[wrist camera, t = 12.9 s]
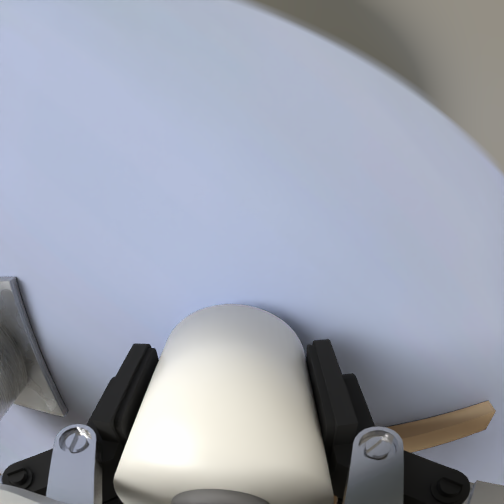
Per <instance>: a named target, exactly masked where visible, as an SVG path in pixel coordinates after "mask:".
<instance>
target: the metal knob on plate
mask: <svg viewBox="0 0 504 504" xmlns="http://www.w3.org/2000/svg"><path fill="white" fill-rule="evenodd" d="M13 403H14V404H17V405H21V406H24V407H27V408H31V409H34V410H38V411H42V412H45V413H49V414H53V415H57V416H62V417H65V415H66V414H67V412H68V410H67V408H66V407H65V405H64V403H63V401H62V399H61V397H60V394H59V392H58V390H57V388H56V386H55V384H54V382H53V380H52V377H51V375H50V373H49V371H48V368H47V366H46V364H45V361H44V359H43V356H42V354H41V352H40V349H39V346H38V344H37V341H36V339H35V336H34V333H33V331H32V328H31V325H30V322H29V319H28V316H27V313H26V310H25V307H24V304H23V301H22V298H21V294H20V291H19V288H18V284H17V281H16V277H0V420H1V419H2V418H3V416H4V415H5V414H6V412H7V411H8V410H9V408H10V407H11V406H12V404H13Z"/></svg>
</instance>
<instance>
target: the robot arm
mask: <svg viewBox="0 0 504 504" xmlns="http://www.w3.org/2000/svg"><path fill="white" fill-rule="evenodd" d="M158 361H159V360H158V356H157V352H156V349H155V348H151V346H150V344H133V346H132V348H131V349H130V351H129V353H128V355H127V357H126V358H125V360H124V362H123V364H122V366H121V367H120V369H119V371H118V373H117V375H116V377H113V378H112V379H111V380H110V382H109V384H108V386H107V388H106V389H105V391H104V393H103V395H102V397H101V399H100V401H99V402H98V404H97V406H96V408H95V410H94V412H93V414H92V416H91V418H90V420H89V421H88V423H87V425H83V424H74V425H70V426H67V427H65V428H64V429H62V430H61V431H60V432H59V433H58V434H57V436H56V438H55V442H54V447H53V449H50V450H48V451H45V452H43V453H40V454H38V455H35V456H32V457H30V458H27V459H24V460H22V461H19V462H16V463H14V464H12V465H10V466H9V467H8V468H7V469H6V470H5V471H4V473H3V475H1V474H0V504H124V503H123V502H122V501H121V500H120V498H119V497H118V495H117V494H116V491H115V489H114V484H113V480H114V475H115V473H116V470H117V467H118V464H119V462H120V459H121V456H122V453H123V451H124V448H125V445H126V443H127V440H128V437H129V435H130V432H131V429H132V427H133V424H134V422H135V419H136V416H137V414H138V411H139V409H140V406H141V404H142V401H143V398H144V396H145V393H146V391H147V388H148V386H149V383H150V381H151V378H152V376H153V373H154V371H155V368H156V366H157V364H158ZM306 363H307V367H308V372H309V376H310V381H311V386H312V390H313V395H314V400H315V404H316V409H317V414H318V419H319V424H320V429H321V433H322V438H323V443H324V448H325V453H326V458H327V463H328V468H329V474H330V479H331V484H332V489H333V495H335V496H336V497H337V500H336V504H504V486H503V485H497V484H492V483H487V482H482V481H478V480H477V481H476V482H475V483H471V482H469V480H468V478H467V477H466V476H465V475H464V474H463V473H461V472H459V471H457V470H455V469H452V468H449V467H446V466H443V465H441V464H438V463H435V462H433V461H430V460H427V459H425V458H422V457H420V456H417V455H415V454H412V453H410V452H407V451H405V450H404V448H403V441H402V439H401V437H400V436H399V434H398V433H396V432H395V431H394V430H391V429H389V428H386V427H380V426H378V427H375V425H374V423H373V420H372V417H371V415H370V412H369V409H368V407H367V404H366V402H365V399H364V396H363V394H362V391H361V389H360V386H359V384H358V381H357V379H356V376H355V375H354V374H353V373H352V374H344V375H342V373H341V370H340V367H339V365H338V362H337V359H336V356H335V353H334V351H333V348H332V345H331V342H330V340H329V339H326V340H314V341H313V344H312V345H307V357H306Z"/></svg>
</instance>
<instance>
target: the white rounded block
mask: <svg viewBox="0 0 504 504" xmlns="http://www.w3.org/2000/svg"><path fill="white" fill-rule="evenodd" d="M113 484H114V489H115V491H116V494H117V495H118V497H119V498H120V500H121V501H122V502H123V503H124V504H334V495H333V489H332V484H331V479H330V474H329V468H328V463H327V458H326V453H325V448H324V443H323V438H322V433H321V429H320V424H319V419H318V414H317V409H316V404H315V400H314V395H313V390H312V386H311V381H310V376H309V372H308V367H307V363H306V358H305V354H304V349H303V346H302V344H301V341H300V339H299V338H298V336H297V335H296V333H295V332H294V331H293V330H292V328H291V327H290V326H289V325H288V324H286V323H285V322H284V321H283V320H281V319H280V318H278V317H277V316H275V315H273V314H271V313H269V312H267V311H265V310H262V309H259V308H256V307H252V306H248V305H240V304H223V305H215V306H210V307H206V308H203V309H201V310H198V311H196V312H194V313H192V314H190V315H188V316H187V317H186V318H184V319H183V320H182V321H181V322H179V323H178V324H177V325H176V327H175V328H174V329H173V330H172V332H171V334H170V335H169V337H168V339H167V342H166V344H165V347H164V349H163V351H162V354H161V356H160V359H159V361H158V364H157V366H156V368H155V371H154V373H153V376H152V378H151V381H150V383H149V386H148V388H147V391H146V393H145V396H144V398H143V401H142V404H141V406H140V409H139V411H138V414H137V416H136V419H135V422H134V424H133V427H132V429H131V432H130V435H129V437H128V440H127V443H126V445H125V448H124V451H123V453H122V456H121V459H120V462H119V464H118V467H117V470H116V473H115V475H114V480H113Z"/></svg>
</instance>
